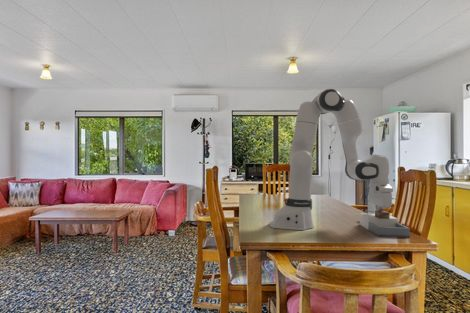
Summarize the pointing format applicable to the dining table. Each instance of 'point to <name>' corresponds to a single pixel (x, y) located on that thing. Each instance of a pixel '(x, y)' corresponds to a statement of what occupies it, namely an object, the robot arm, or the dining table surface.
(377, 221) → the raised plate
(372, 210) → the syrup box
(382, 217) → the walnut tile
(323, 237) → the dining table surface
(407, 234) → the box
